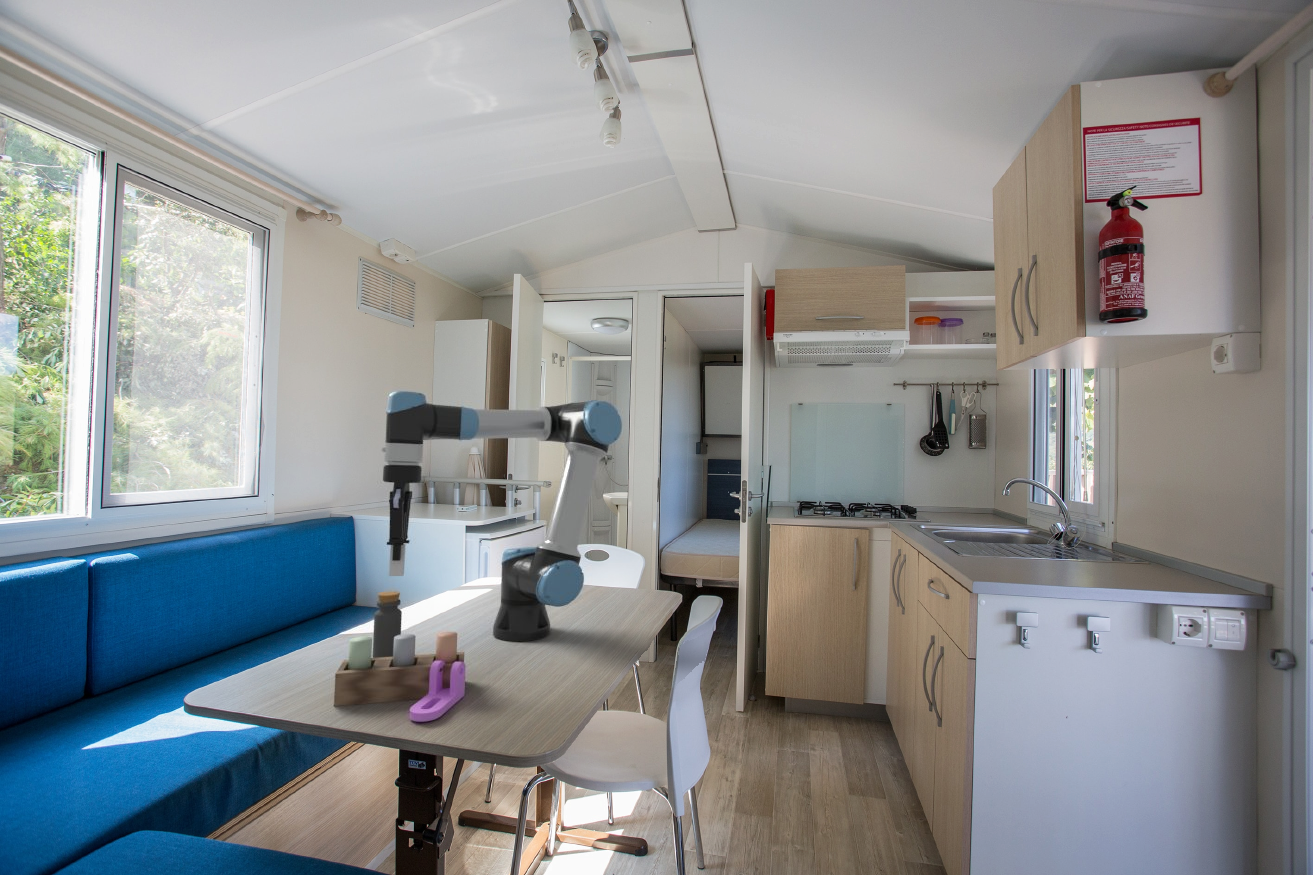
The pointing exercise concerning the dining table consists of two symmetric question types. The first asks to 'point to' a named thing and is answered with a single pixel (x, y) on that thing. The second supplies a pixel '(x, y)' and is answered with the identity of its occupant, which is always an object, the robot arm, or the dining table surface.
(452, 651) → the brown egg
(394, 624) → the bottle
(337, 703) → the walnut rack
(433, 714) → the bracket
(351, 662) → the green rounded cylinder
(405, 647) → the grey rounded cylinder
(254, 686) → the dining table surface
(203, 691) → the dining table surface
